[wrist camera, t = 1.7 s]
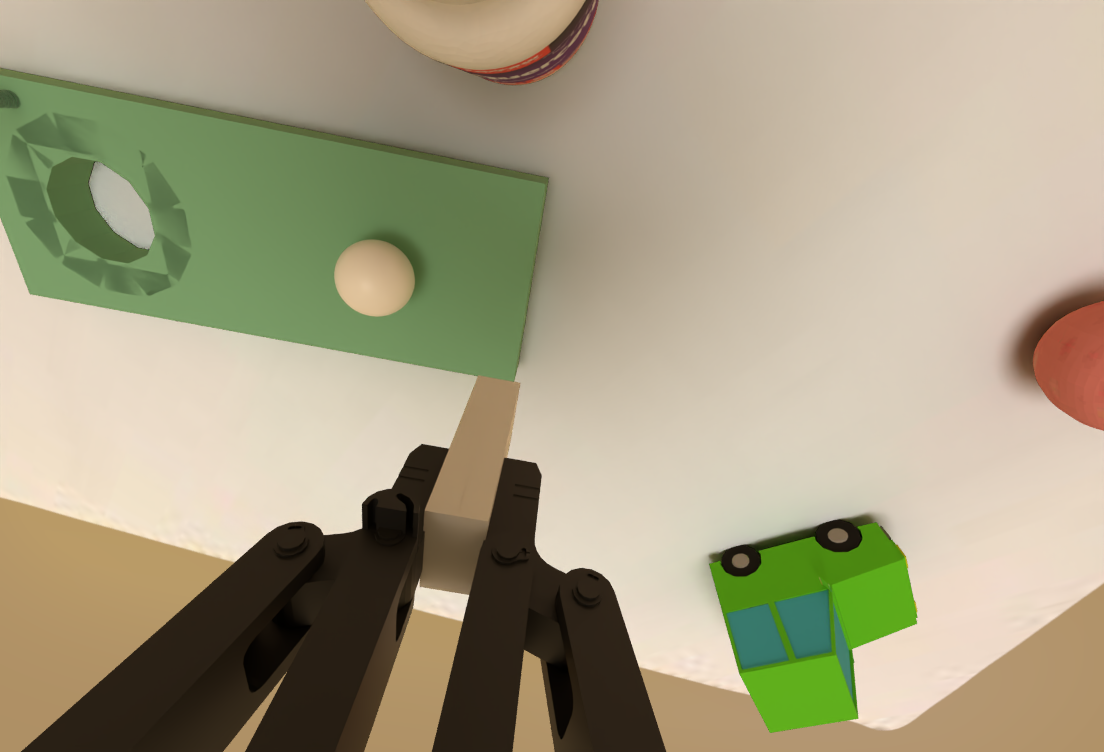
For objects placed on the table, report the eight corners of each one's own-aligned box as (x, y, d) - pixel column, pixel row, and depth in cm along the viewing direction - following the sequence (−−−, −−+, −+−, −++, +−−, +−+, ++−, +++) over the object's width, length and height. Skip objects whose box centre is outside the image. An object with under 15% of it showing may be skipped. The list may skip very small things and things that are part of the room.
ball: (352, 225, 26) (316, 243, 22) (425, 239, 26) (401, 259, 23) (354, 294, 28) (322, 320, 24) (422, 306, 28) (399, 334, 25)
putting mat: (-5, 67, 25) (-60, 63, 23) (548, 177, 27) (545, 184, 24) (68, 281, 31) (29, 294, 29) (518, 364, 32) (513, 382, 30)
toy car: (890, 580, 41) (974, 707, 32) (736, 615, 44) (773, 739, 36) (871, 498, 37) (961, 619, 28) (702, 544, 40) (735, 665, 31)
